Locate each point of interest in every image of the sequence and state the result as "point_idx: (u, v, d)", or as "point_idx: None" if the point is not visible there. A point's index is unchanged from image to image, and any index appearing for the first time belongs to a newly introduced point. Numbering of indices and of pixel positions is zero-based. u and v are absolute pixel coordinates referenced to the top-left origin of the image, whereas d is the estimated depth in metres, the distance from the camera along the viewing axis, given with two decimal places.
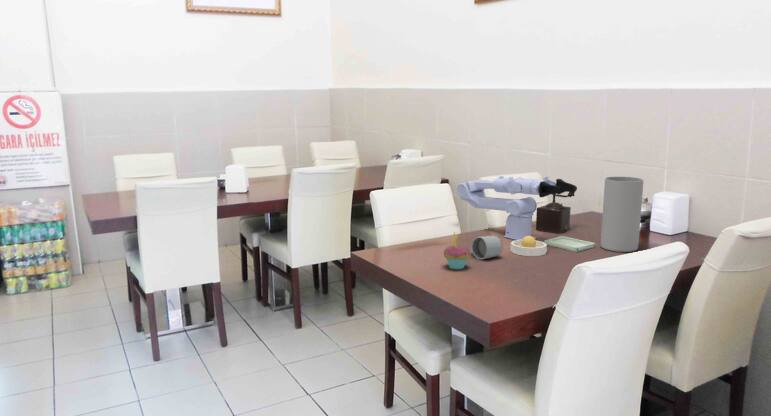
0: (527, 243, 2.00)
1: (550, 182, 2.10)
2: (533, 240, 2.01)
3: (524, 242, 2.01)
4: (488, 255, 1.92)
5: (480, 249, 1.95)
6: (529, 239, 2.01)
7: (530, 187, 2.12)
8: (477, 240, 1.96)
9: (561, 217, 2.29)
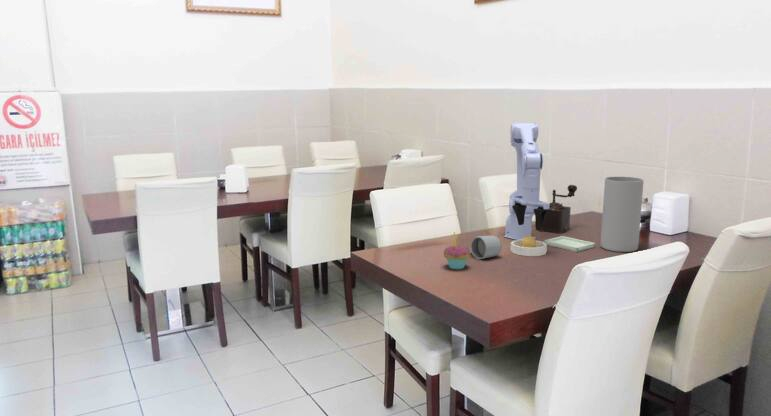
0: (527, 243, 2.00)
1: None
2: (533, 240, 2.01)
3: (524, 242, 2.01)
4: (487, 255, 1.92)
5: (479, 249, 1.95)
6: (529, 239, 2.01)
7: None
8: (476, 240, 1.97)
9: (561, 217, 2.29)
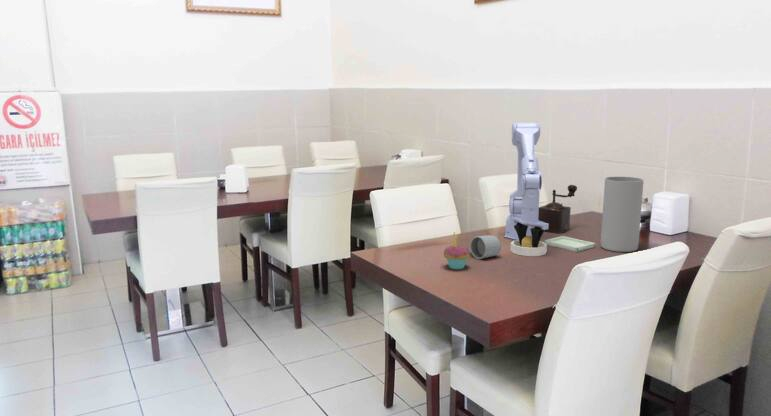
0: (527, 243, 2.00)
1: None
2: None
3: (524, 242, 2.01)
4: (487, 254, 1.93)
5: (479, 249, 1.96)
6: (529, 239, 2.01)
7: None
8: (476, 240, 1.97)
9: (561, 217, 2.29)
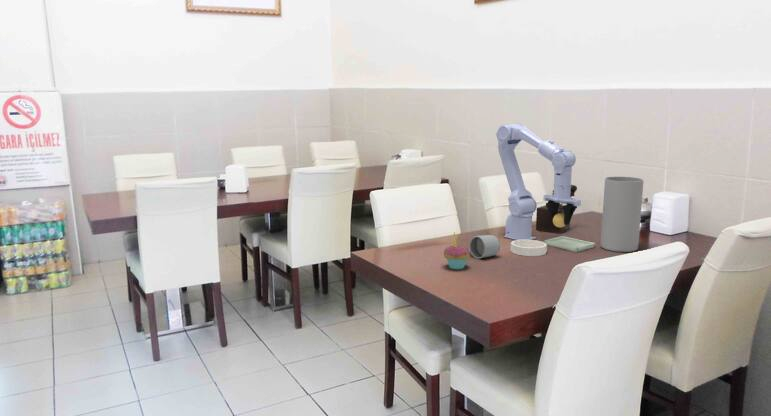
0: (558, 220, 2.04)
1: None
2: None
3: (555, 219, 2.05)
4: (486, 254, 1.93)
5: (478, 248, 1.96)
6: (560, 216, 2.05)
7: None
8: (475, 239, 1.97)
9: None
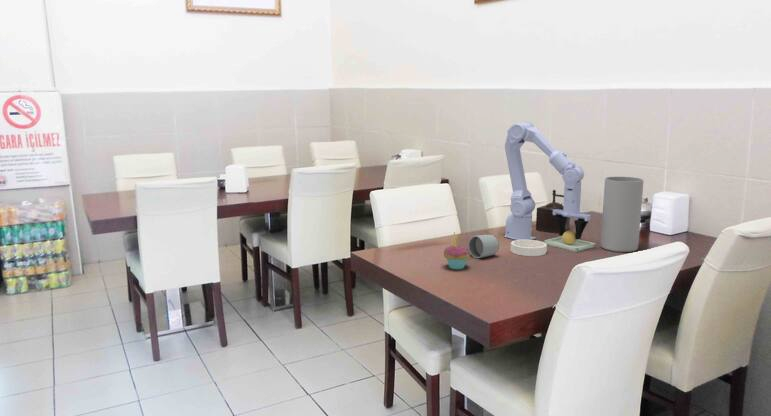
0: (568, 237, 2.08)
1: None
2: (573, 235, 2.08)
3: (565, 236, 2.08)
4: (485, 254, 1.93)
5: (477, 248, 1.97)
6: (570, 233, 2.08)
7: None
8: (474, 239, 1.98)
9: None
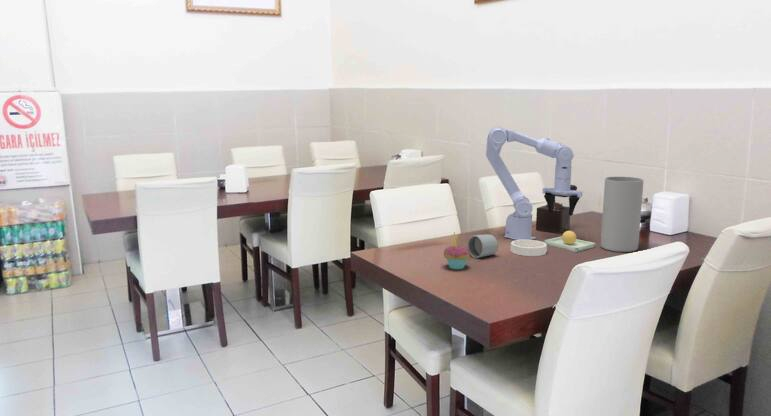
0: (567, 237, 2.08)
1: None
2: (573, 235, 2.08)
3: (565, 236, 2.09)
4: (484, 253, 1.94)
5: (476, 248, 1.97)
6: (570, 233, 2.08)
7: None
8: (473, 239, 1.98)
9: (561, 217, 2.29)
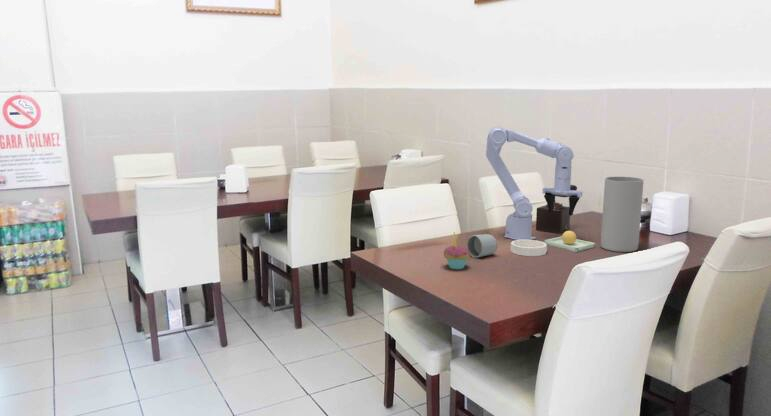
0: (567, 237, 2.08)
1: None
2: (573, 235, 2.08)
3: (564, 236, 2.09)
4: (483, 253, 1.94)
5: (475, 247, 1.97)
6: (570, 233, 2.08)
7: None
8: (472, 238, 1.99)
9: (561, 217, 2.29)
